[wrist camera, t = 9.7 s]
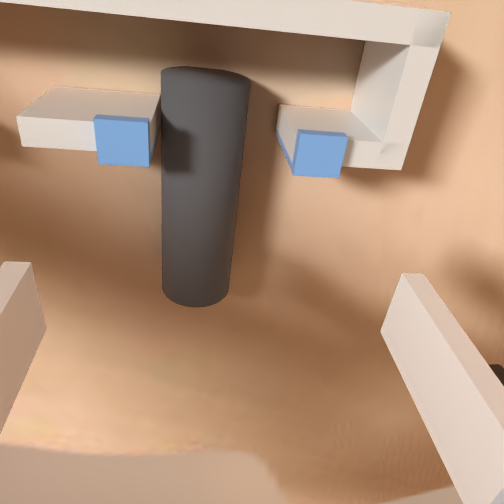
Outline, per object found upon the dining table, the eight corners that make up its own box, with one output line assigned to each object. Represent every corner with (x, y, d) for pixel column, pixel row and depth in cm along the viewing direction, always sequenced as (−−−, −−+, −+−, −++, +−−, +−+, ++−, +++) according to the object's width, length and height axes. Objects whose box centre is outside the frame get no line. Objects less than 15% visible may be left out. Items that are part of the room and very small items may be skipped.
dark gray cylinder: (239, 278, 27) (209, 316, 23) (184, 259, 28) (148, 292, 24) (263, 78, 20) (226, 92, 17) (189, 63, 21) (142, 73, 18)
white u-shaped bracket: (-166, 100, 20) (-280, 141, 15) (-241, -74, 16) (-421, -90, 11) (364, 139, 23) (404, 182, 19) (399, 2, 20) (459, 14, 15)
